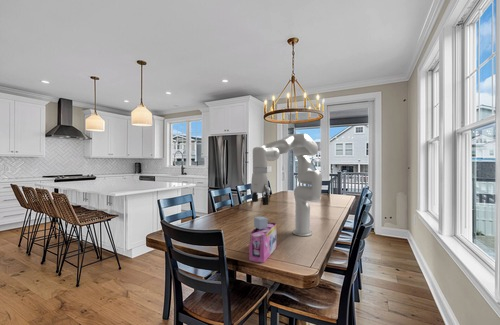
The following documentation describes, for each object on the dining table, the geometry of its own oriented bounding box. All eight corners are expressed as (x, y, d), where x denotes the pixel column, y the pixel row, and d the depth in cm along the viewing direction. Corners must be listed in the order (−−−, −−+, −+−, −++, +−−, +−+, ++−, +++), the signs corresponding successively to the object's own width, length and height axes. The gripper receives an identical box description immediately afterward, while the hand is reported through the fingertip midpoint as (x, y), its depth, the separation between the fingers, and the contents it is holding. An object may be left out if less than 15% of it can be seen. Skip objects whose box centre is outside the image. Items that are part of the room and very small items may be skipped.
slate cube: (254, 226, 126) (254, 217, 126) (261, 225, 129) (262, 216, 129) (259, 229, 122) (259, 219, 122) (267, 227, 125) (267, 218, 125)
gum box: (263, 264, 112) (263, 235, 112) (247, 261, 115) (247, 233, 115) (276, 247, 134) (277, 223, 134) (263, 245, 137) (263, 221, 137)
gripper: (245, 170, 131) (245, 201, 131) (263, 171, 116) (263, 207, 116) (257, 169, 135) (257, 200, 135) (275, 171, 120) (275, 205, 120)
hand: (260, 203), depth 126 cm, fingers open, 9 cm apart
